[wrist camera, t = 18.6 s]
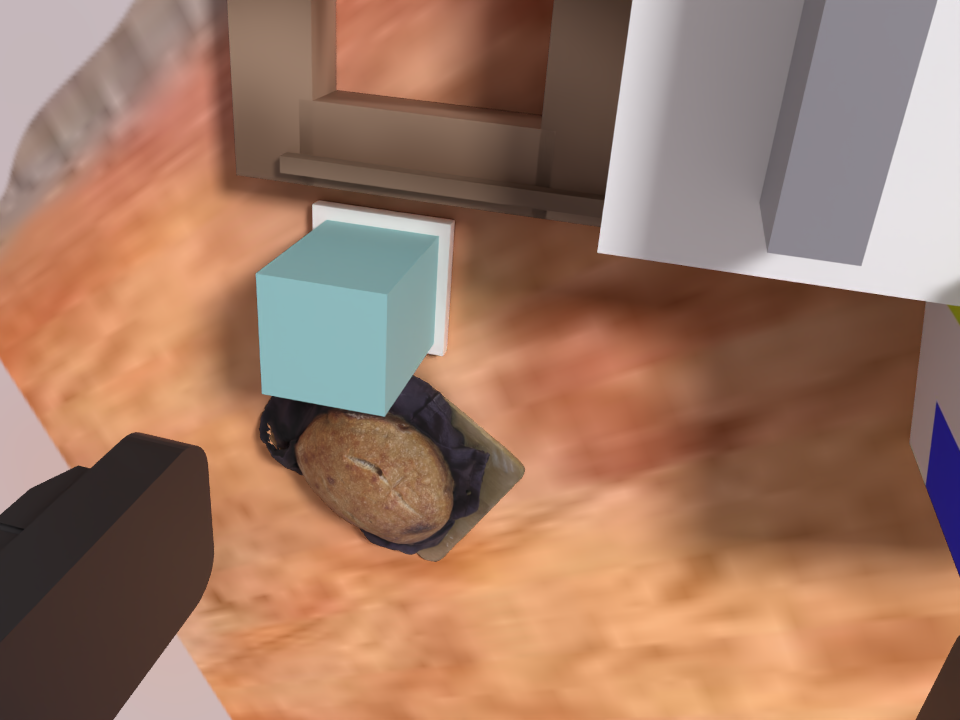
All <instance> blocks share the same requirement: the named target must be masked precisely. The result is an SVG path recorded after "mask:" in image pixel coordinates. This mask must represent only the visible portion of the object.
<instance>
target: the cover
mask: <svg viewBox="0 0 960 720" xmlns="http://www.w3.org/2000/svg"><path fill="white" fill-rule="evenodd" d="M597 253H603V254H610V255H617V256H624V257H630V258H637V259H644V260H651V261H657V262H664V263H671V264H678V265H684V266H691V267H698V268H705V269H711V270H718V271H725V272H732V273H738V274H745V275H752V276H759V277H765V278H772V279H779V280H786V281H792V282H799V283H806V284H813V285H819V286H826V287H833V288H840V289H846V290H853V291H860V292H867V293H873V294H880V295H887V296H894V297H900V298H907V299H914V300H921V301H927V302H934V303H941V304H948V305H954V306H960V0H633V1H632V8H631V15H630V22H629V29H628V36H627V44H626V51H625V58H624V65H623V72H622V79H621V87H620V94H619V101H618V108H617V115H616V122H615V129H614V137H613V144H612V151H611V158H610V165H609V172H608V179H607V187H606V194H605V201H604V208H603V215H602V222H601V229H600V237H599V244H598V251H597Z"/></svg>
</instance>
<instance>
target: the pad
mask: <svg viewBox="0 0 960 720" xmlns="http://www.w3.org/2000/svg"><path fill="white" fill-rule="evenodd" d="M312 219H313V230H314V229H315V228H316V227H318V226H319V225H320V224H322V223H323V222H324V221H325V220H332V221H339V222H346V223H352V224H359V225H366V226H373V227H380V228H387V229H394V230H401V231H407V232H414V233H421V234H428V235H435V236H439V248H438V269H437V289H436V310H435V330H434V344H433V345H432V347H431V348H430V350H429V351H428V354H434V355H439V356H443V355H444V354H445V352H446V351H447V341H448V325H449V309H450V292H451V276H452V259H453V243H454V226H455V220H451V219H444V218H437V217H431V216H424V215H417V214H410V213H403V212H396V211H389V210H383V209H376V208H369V207H362V206H355V205H348V204H341V203H335V202H328V201H321V200H318V201H316V202H315V203H314V204H312Z"/></svg>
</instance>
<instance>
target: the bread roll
mask: <svg viewBox="0 0 960 720" xmlns="http://www.w3.org/2000/svg"><path fill="white" fill-rule="evenodd" d="M267 423H268V425H270V426H271V435H270V434H268V433H267V431H269V430H270V428H268V426H267ZM259 430H260V438H261V440H262V441H263V443H265V444H266V446H267V448H268V450H269V452H270V453H271V456H272V457H273V458H274V459H275V460H276V461H278V462H279V463H280V464H282V465H283V466H284V467H286V468H288V469H291V470H293V471H295V472H297V473H298V474H300V475H303V476H304V477H305V479H306V481H307V483H308V484H309V485H310V487H311V488H312V489H313V491H314V492H315V493H316V494H317V495H318V496H319V497H320V498H321V499H322V500H323V501H324V502H325V503H326V504H327V505H328V506H329V507H330V508H331V509H332V510H333V511H334V512H335V513H336V514H337V515H339V516H340V517H342V518H343V519H345V520H346V521H348V522H349V523H351V524H353V525H355V526H356V527H359V528H360V530H361V531H362V532H363V533H364V535H365V536H366V538H367V539H368V540H369V541H370V542H372V543H373V544H376V545H379V546H382V547H386V548H388V549H392V550H399V551H401V552H403V553H405V554H410V555H412V554H415V553H417V554H419V555H420V556H421V557H422V558H423V559H425V560H429V561H434V562H437V561H439V560H441V559H442V558H443V557H445V555H446V554H447V553H448V552H449V551H450V550H451V549H452V548H453V547H454V546H455V545H456V544H457V543H458V542H459V541H460V540H461V539H462V538H463V537H464V536H465V535H466V534H467V533H468V532H469V531H470V530H471V529H472V528H473V527H474V526H475V525H476V524H477V523H478V522H479V521H480V520H481V519H482V518H483V517H484V516H485V515H486V514H487V513H488V512H489V511H490V510H491V509H492V508H493V507H494V506H495V505H496V504H497V503H498V502H499V500H500V499H501V498H502V497H504V496H505V494H506V493H507V492H508V491H509V490H510V489H511V488H512V487H513V486H514V485H515V484H516V483H517V482H518V481H519V480H520V479H521V478H522V477H523V475H524V472H525V468H524V465H523V464H522V463H521V462H520V461H519V460H518V459H517V458H516V457H515V456H514V455H513V454H512V453H511V452H509V451H508V450H507V449H506V448H505V447H504V446H503V445H502V444H500V443H499V442H498V441H496V440H495V439H494V438H493V437H492V436H490V435H489V434H488V433H487V432H486V431H485V430H484V429H483V428H482V427H480V426H479V425H478V424H477V423H475V422H474V421H473V420H472V419H471V418H470V417H468V416H467V415H466V414H465V413H464V412H462V411H461V410H460V409H459V408H458V407H456V406H455V405H454V404H452V403H451V402H450V401H449V400H447V399H446V398H445V397H444V396H443V395H442V394H441V393H440V392H439V391H437V390H435V389H434V388H432V386H431V385H429V384H428V383H427V382H425V381H423V380H421V379H420V378H417V377H416V376H414V375H412V377H411V378H410V380H409V381H408V383H407V384H406V386H405V387H404V389H403V390H402V392H401V393H400V395H399V396H398V398H397V399H396V401H395V402H394V404H393V405H392V407H391V408H390V410H389V411H388V412H387V414H386V415H385V417H384V416H379V415H373V414H368V413H362V412H357V411H352V410H346V409H341V408H335V407H330V406H325V405H319V404H314V403H308V402H303V401H298V400H292V399H287V398H281V397H276V396H272V397H271V399H270V401H269V402H268V404H267V405H266V407H265V411H264V412H263V413H262V416H261V423H260V428H259ZM269 437H270V439H269ZM270 440H271V441H272V442H273V444H274V445H275V446H277V449H276V447H275V446H274V445H273V444H272V445H271V444H270V443H269V442H270ZM268 441H269V442H268ZM279 448H280V449H279Z"/></svg>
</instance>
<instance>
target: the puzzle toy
mask: <svg viewBox="0 0 960 720" xmlns="http://www.w3.org/2000/svg"><path fill="white" fill-rule="evenodd" d="M909 443H910V446H911V449H912V451H913V454H914V457H915V459H916V462H917V465H918V467H919V470H920V473H921V475H922V478H923V481H924V483H925V486H926V489H927V491H928V494H929V497H930V499H931V502H932V505H933V507H934V510H935V513H936V515H937V518H938V520H939V523H940V526H941V528H942V531H943V534H944V536H945V539H946V542H947V544H948V547H949V550H950V552H951V555H952V558H953V560H954V563H955V566H956V568H957V571H958V574H959V576H960V306H954V305H948V304H941V303H934V302H927V301H926V306H925V314H924V323H923V331H922V340H921V348H920V357H919V365H918V374H917V382H916V391H915V399H914V408H913V416H912V425H911V433H910V442H909Z"/></svg>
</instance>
